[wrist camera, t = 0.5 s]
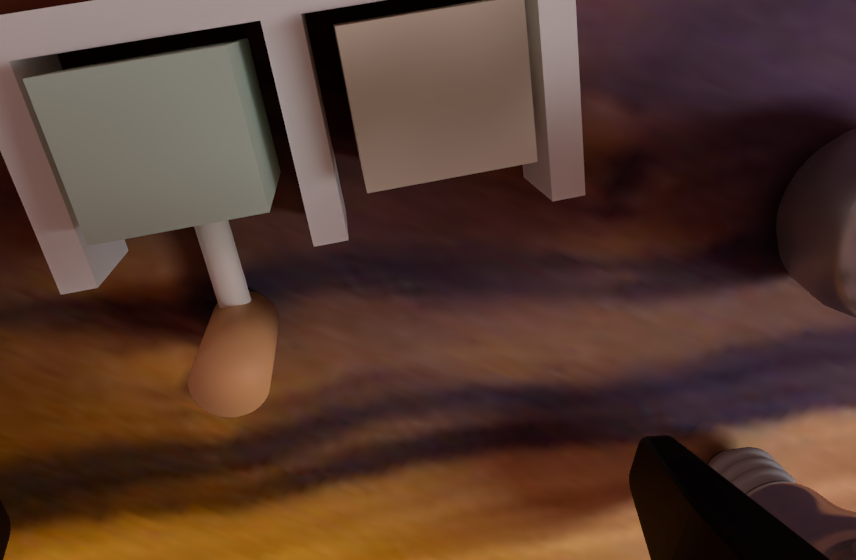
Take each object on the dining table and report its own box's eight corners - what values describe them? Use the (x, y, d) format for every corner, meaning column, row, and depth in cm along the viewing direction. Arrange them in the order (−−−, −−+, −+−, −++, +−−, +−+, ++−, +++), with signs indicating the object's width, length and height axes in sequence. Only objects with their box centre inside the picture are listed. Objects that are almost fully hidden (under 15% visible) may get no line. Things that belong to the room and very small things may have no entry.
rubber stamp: (319, 329, 23) (318, 400, 18) (190, 355, 22) (160, 432, 18) (248, 38, 19) (226, 45, 15) (90, 63, 18) (22, 79, 14)
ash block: (495, 132, 21) (537, 161, 17) (359, 157, 20) (367, 193, 16) (481, -1, 19) (524, -5, 15) (333, 24, 19) (334, 26, 15)
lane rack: (552, 171, 21) (585, 195, 19) (96, 256, 20) (60, 294, 18) (535, -63, 19) (571, -75, 16) (5, 21, 18) (-54, 23, 15)
